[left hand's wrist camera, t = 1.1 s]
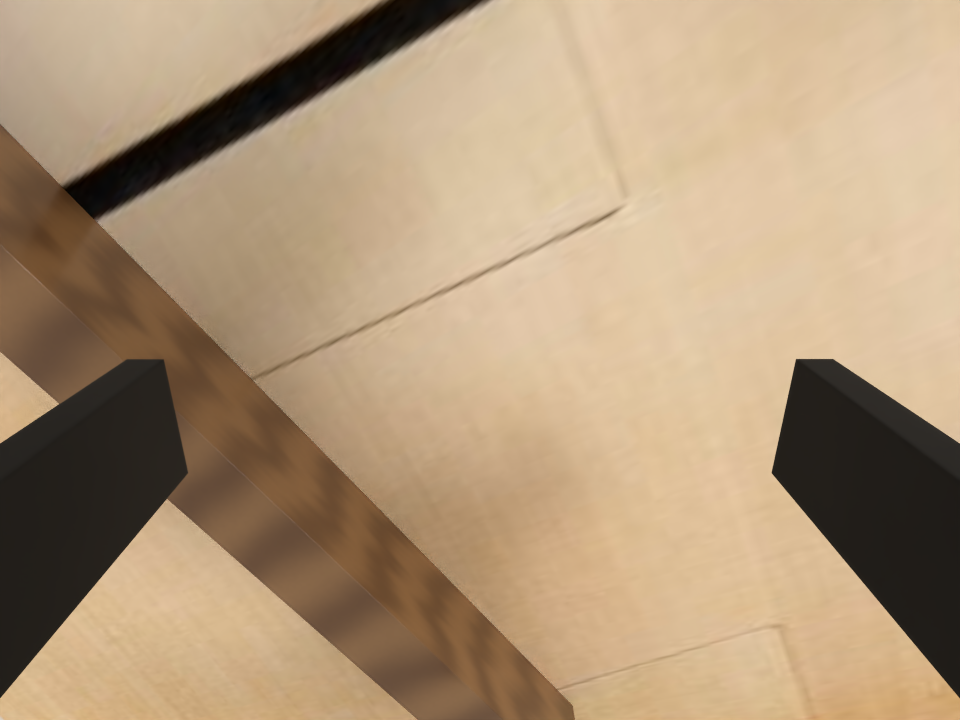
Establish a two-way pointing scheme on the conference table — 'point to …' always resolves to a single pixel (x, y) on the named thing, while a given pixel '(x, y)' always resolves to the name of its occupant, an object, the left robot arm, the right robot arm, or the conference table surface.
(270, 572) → the post
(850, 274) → the conference table surface
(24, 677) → the conference table surface
